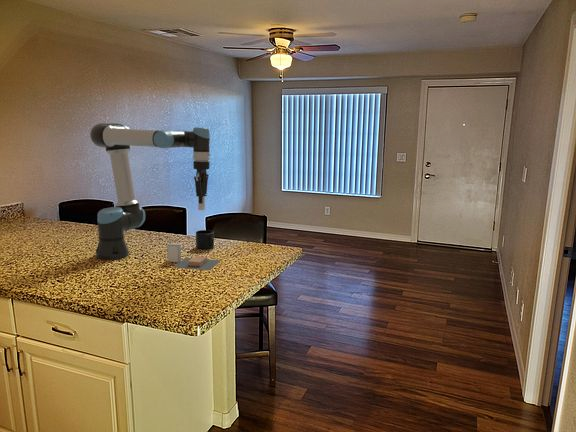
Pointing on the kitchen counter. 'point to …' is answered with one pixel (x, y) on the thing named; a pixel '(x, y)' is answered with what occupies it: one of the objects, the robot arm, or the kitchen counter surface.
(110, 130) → the robot arm
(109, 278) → the kitchen counter surface
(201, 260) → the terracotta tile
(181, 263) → the mat
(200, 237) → the mug
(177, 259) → the grey tile
